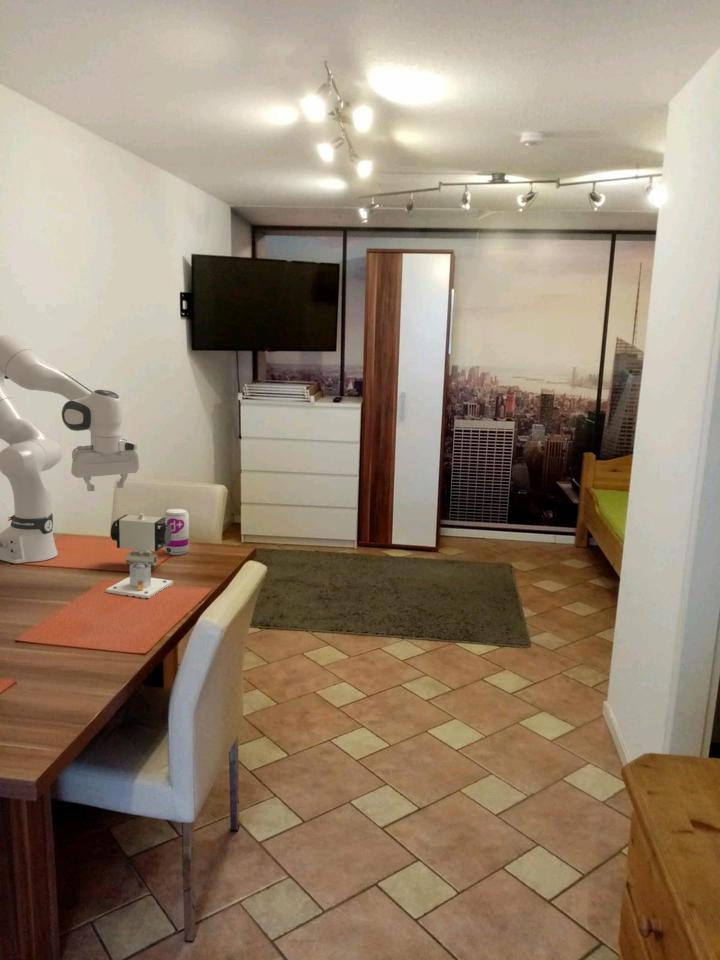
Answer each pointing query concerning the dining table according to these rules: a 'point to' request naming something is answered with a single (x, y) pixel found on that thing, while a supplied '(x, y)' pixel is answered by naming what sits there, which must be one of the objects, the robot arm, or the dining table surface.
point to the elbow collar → (140, 576)
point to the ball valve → (141, 536)
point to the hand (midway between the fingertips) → (105, 489)
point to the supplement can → (178, 531)
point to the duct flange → (125, 589)
